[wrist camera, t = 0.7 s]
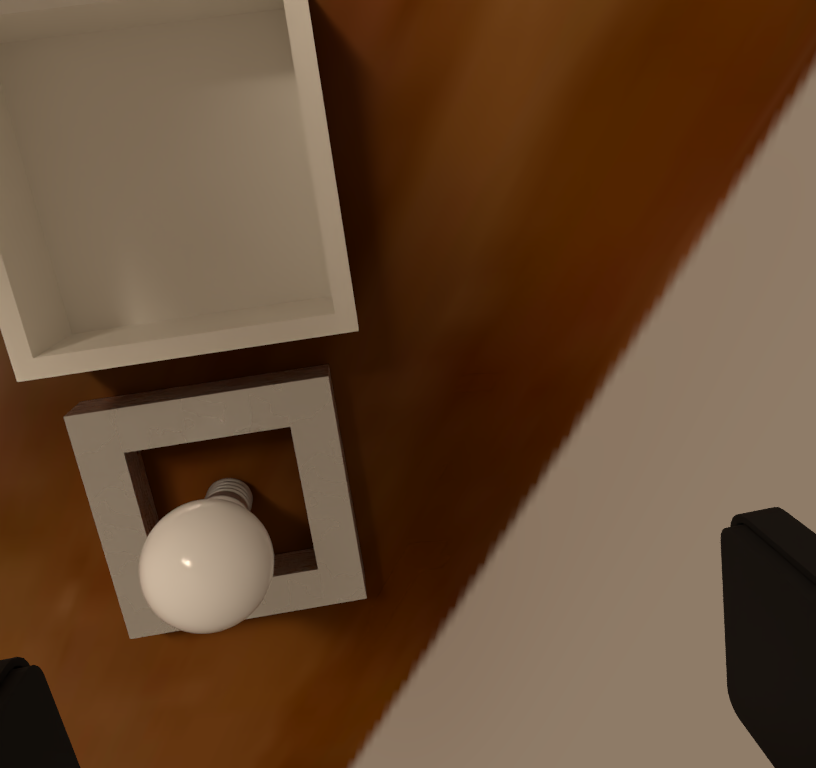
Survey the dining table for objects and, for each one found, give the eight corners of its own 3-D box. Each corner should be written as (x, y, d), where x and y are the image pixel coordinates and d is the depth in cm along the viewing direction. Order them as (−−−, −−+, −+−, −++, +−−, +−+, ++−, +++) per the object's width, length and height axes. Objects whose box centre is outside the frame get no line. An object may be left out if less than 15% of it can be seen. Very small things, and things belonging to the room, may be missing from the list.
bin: (65, 350, 38) (17, 382, 32) (-29, 28, 33) (-105, -2, 27) (355, 307, 39) (359, 330, 33) (305, -13, 34) (300, -50, 28)
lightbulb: (297, 459, 41) (284, 558, 31) (269, 551, 43) (248, 674, 32) (190, 432, 40) (138, 524, 30) (165, 527, 42) (108, 647, 31)
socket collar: (141, 613, 43) (130, 639, 41) (80, 401, 39) (63, 416, 36) (365, 575, 44) (366, 598, 41) (328, 364, 40) (328, 376, 37)
